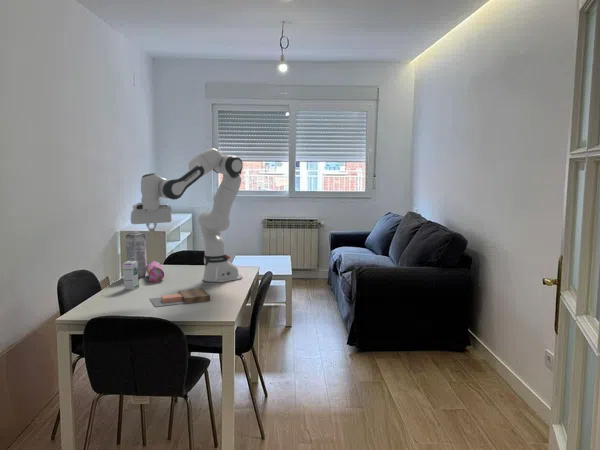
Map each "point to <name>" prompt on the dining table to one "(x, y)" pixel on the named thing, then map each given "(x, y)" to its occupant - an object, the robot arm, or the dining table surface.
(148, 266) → the pencil case
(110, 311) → the dining table surface
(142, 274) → the juice carton
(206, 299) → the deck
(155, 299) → the mat
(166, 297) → the salmon pink rectangular block
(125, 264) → the syrup box
